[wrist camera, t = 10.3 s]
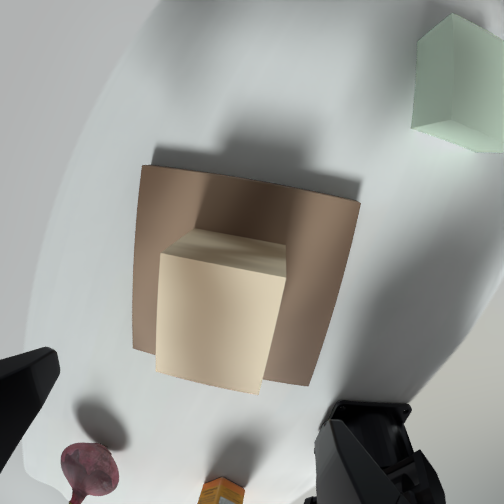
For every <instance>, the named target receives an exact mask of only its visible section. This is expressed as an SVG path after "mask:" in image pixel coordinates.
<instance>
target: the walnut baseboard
mask: <svg viewBox="0 0 504 504" xmlns="http://www.w3.org/2000/svg"><path fill="white" fill-rule="evenodd" d="M360 205H361V203H360V202H358V201H355V200H351V199H347V198H342V197H338V196H333V195H329V194H324V193H319V192H314V191H310V190H305V189H300V188H295V187H290V186H284V185H279V184H274V183H268V182H263V181H257V180H251V179H245V178H239V177H233V176H227V175H221V174H214V173H208V172H201V171H194V170H187V169H179V168H171V167H164V166H155V165H142V170H141V179H140V187H139V197H138V207H137V218H136V231H135V246H134V265H133V300H132V329H133V348H134V349H137V350H140V351H144V352H147V353H150V354H154V355H156V324H157V300H158V282H159V267H160V254H161V252H163V251H164V250H165V249H167V248H168V247H169V246H171V245H172V244H173V243H175V242H176V241H177V240H179V239H180V238H181V237H183V236H184V235H186V234H187V233H188V232H190V231H191V230H192V229H194V228H196V229H202V230H207V231H213V232H218V233H224V234H229V235H234V236H240V237H245V238H250V239H256V240H261V241H266V242H272V243H277V244H282V245H286V282H285V286H284V291H283V295H282V299H281V304H280V308H279V313H278V317H277V321H276V326H275V330H274V334H273V338H272V343H271V347H270V351H269V355H268V359H267V363H266V367H265V371H264V375H263V380H269V381H275V382H281V383H287V384H294V385H301V386H309V383H310V381H311V378H312V375H313V372H314V369H315V366H316V363H317V360H318V357H319V354H320V351H321V348H322V345H323V342H324V339H325V336H326V333H327V330H328V327H329V323H330V320H331V317H332V313H333V310H334V307H335V303H336V300H337V296H338V293H339V289H340V286H341V282H342V278H343V275H344V271H345V267H346V263H347V260H348V256H349V252H350V248H351V244H352V240H353V236H354V231H355V227H356V223H357V218H358V214H359V209H360Z"/></svg>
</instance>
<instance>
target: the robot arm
mask: <svg viewBox="0 0 504 504" xmlns="http://www.w3.org/2000/svg"><path fill="white" fill-rule="evenodd" d="M59 374H60V365H59V360H58V355H57V352H56V351H55V350H54V349H51V348H49V347H43V348H39V349H36V350H33V351H29V352H26V353H23V354H19V355H15V356H12V357H9V358H5V359H1V360H0V473H1V471H2V470H3V468H4V466H5V464H6V463H7V461H8V460H9V458H10V456H11V455H12V453H13V451H14V450H15V448H16V446H17V445H18V443H19V442H20V440H21V439H22V437H23V435H24V434H25V432H26V431H27V429H28V428H29V426H30V425H31V423H32V422H33V420H34V419H35V417H36V415H37V414H38V412H39V411H40V409H41V408H42V406H43V404H44V403H45V401H46V399H47V397H48V395H49V393H50V391H51V389H52V388H53V386H54V384H55V382H56V380H57V378H58V376H59ZM342 406H344V407H342ZM340 407H341V408H340ZM404 410H405V411H404ZM411 411H412V409H411V406H410V405H409V404H391V403H371V402H357V401H345V400H342V401H339V402H337V403H336V404H335V407H334V409H333V411H332V413H331V415H330V417H329V419H328V421H327V422H325V423H324V424H323V426H322V428H321V430H320V432H319V434H318V436H317V438H316V440H315V448H314V454H315V458H316V491H317V496H316V497H313V496H312V497H309V498H306V499H305V502H304V504H446V501H445V493H444V490H443V488H442V485H441V483H440V480H439V478H438V475H437V473H436V471H435V470H434V468H433V467H432V465H431V464H430V463H429V461H428V460H427V458H426V457H425V455H424V454H423V453H422V451H421V450H418V451H416V452H414V451H413V448H412V445H411V442H410V440H409V437H408V434H407V431H406V429H405V426H404V423H405V421H406V419H407V418H408V416H409V414H410V413H411Z"/></svg>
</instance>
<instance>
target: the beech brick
mask: <svg viewBox="0 0 504 504" xmlns="http://www.w3.org/2000/svg"><path fill="white" fill-rule="evenodd" d="M285 282H286V245H282V244H277V243H272V242H266V241H261V240H256V239H250V238H245V237H240V236H234V235H229V234H224V233H218V232H213V231H207V230H202V229H196V228H194V229H192V230H191V231H190V232H188V233H187V234H186V235H184V236H183V237H181V238H180V239H179V240H177V241H176V242H175V243H173V244H172V245H171V246H169V247H168V248H167V249H165V250H164V251H163V252H161V254H160V267H159V282H158V300H157V324H156V372H160V373H163V374H167V375H170V376H174V377H178V378H182V379H186V380H190V381H194V382H198V383H202V384H206V385H211V386H215V387H220V388H224V389H229V390H234V391H239V392H244V393H249V394H255V395H259V391H260V387H261V383H262V379H263V375H264V371H265V367H266V363H267V359H268V355H269V351H270V347H271V343H272V338H273V334H274V330H275V326H276V321H277V317H278V313H279V308H280V304H281V299H282V295H283V291H284V286H285Z"/></svg>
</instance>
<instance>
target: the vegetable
mask: <svg viewBox="0 0 504 504" xmlns="http://www.w3.org/2000/svg"><path fill="white" fill-rule="evenodd" d="M106 447H107V446H105V447H104V446H103V445H101V443H100V444H99V443H75V444H72V445H70V446H68V447H67V448H66V449H64V451H63V452H62V455H61V467H62V471H63V473H64V475H65V477H66V478H67V480H68V482H69V484H70V485H71V487H72V490H73V492H72V498H71V500H70V501H69V504H81V503H82V501H83V500H84V499H85V497H86V496H87V495H93V496H103V495H107V494H109V493H111V492H112V491H114V490H115V488H116V487H117V485H118V482H119V472H118V468H117V465H116V463H115V461H114V459H113V457H112V456H111V455H112V454H111V453H110V452H109V451H108V449H107V448H106Z"/></svg>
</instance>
